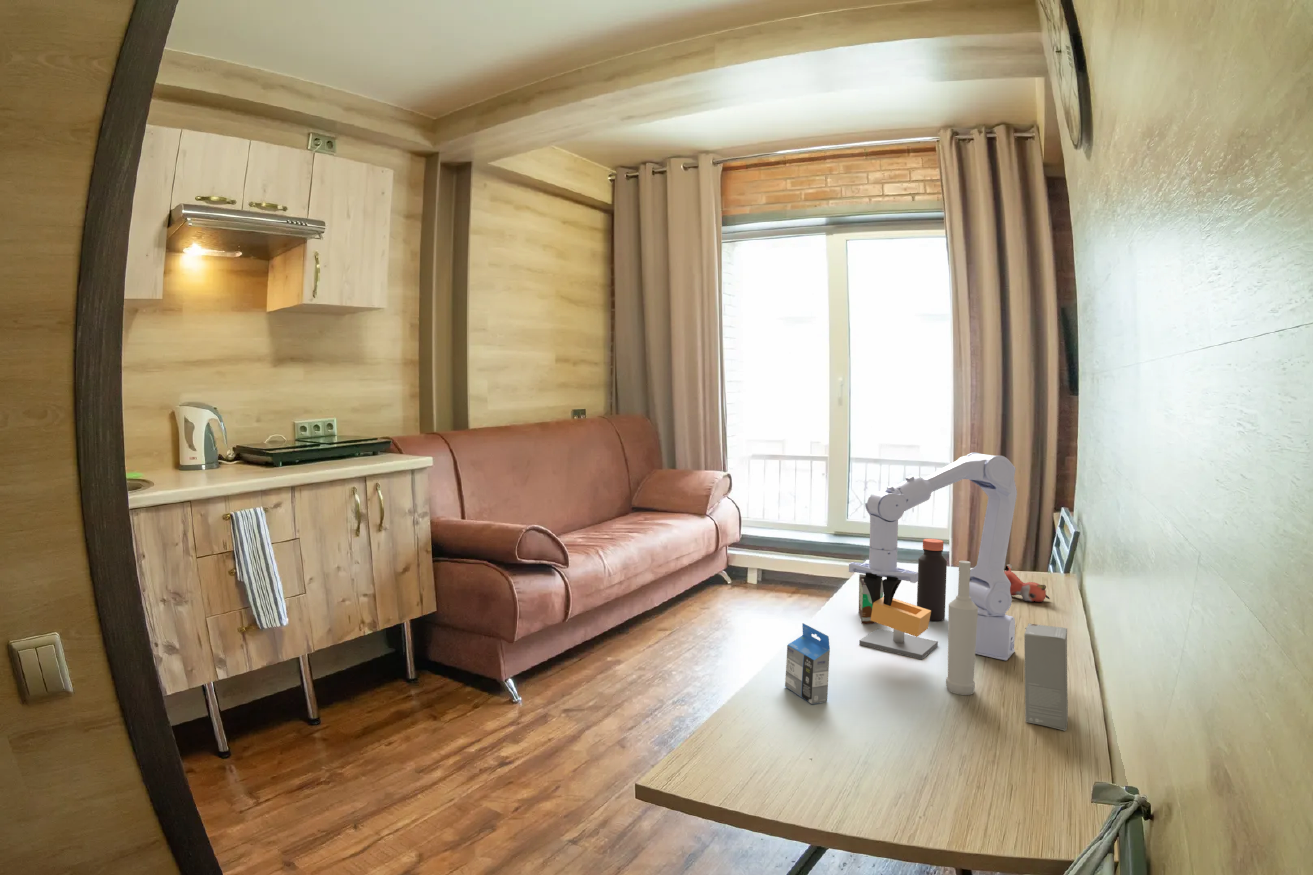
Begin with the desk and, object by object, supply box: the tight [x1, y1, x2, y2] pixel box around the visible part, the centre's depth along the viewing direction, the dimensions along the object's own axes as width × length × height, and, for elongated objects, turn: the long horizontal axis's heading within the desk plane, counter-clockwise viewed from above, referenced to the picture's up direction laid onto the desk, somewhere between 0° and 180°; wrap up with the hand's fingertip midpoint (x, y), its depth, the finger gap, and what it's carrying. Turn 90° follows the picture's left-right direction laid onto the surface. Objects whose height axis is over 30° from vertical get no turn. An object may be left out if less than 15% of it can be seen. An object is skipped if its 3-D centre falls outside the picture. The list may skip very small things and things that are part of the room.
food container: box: [858, 573, 884, 625], centre depth 180 cm, size 12×6×10 cm, turn 168°
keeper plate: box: [859, 628, 939, 660], centre depth 161 cm, size 14×11×6 cm
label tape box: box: [784, 623, 831, 705], centre depth 134 cm, size 9×4×12 cm, turn 23°
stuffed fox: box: [1004, 563, 1051, 603], centre depth 201 cm, size 8×11×12 cm
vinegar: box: [916, 538, 948, 622], centre depth 181 cm, size 7×7×20 cm
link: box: [870, 596, 931, 637], centre depth 151 cm, size 10×7×4 cm
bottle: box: [945, 560, 978, 696], centre depth 136 cm, size 5×5×25 cm
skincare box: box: [1023, 623, 1069, 732], centre depth 125 cm, size 8×7×16 cm
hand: (881, 609), depth 153 cm, fingers closed on link, 2 cm apart
